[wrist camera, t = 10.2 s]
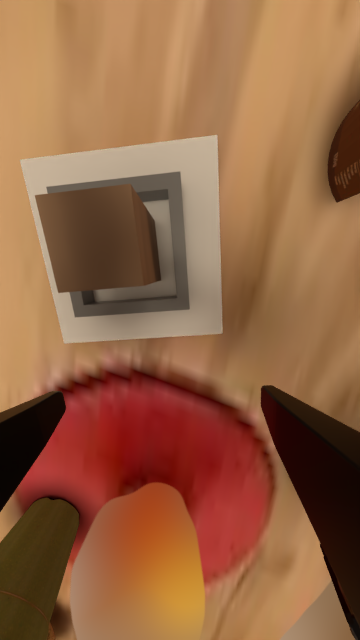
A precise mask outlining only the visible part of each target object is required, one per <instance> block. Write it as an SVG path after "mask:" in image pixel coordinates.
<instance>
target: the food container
mask: <svg viewBox="0 0 360 640" xmlns="http://www.w3.org/2000/svg"><path fill="white" fill-rule="evenodd" d="M328 179H329V185H330V188H331V191H332V194H333V196H334V198H335V200H336V202H339V201H342V200H344V199H347V198H349V197H351V196H354V195H356V194H359V193H360V100H359V102H358V103H357V104H356V105H355V106H354V107H353V108H352V109H351V111H350V112H349V113H348V115H347V116H346V117H345V119H344V120H343V121H342V123H341V125H340V127H339V128H338V130H337V132H336V135H335V137H334V139H333V142H332V145H331V149H330V153H329V159H328Z"/></svg>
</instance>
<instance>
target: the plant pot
mask: <svg viewBox="0 0 360 640" xmlns="http://www.w3.org/2000/svg"><path fill="white" fill-rule="evenodd" d="M78 526H79V514H78V512H77V510H76V509H75V508H74V507H73V506H72V505H70V504H69V503H68V502H66V501H64V500H61V499H57V500H50V499H49V498H42V499H39V500H37V501H35V502H34V503H33V504H32V505H31V506H30V507H29V509H28V510H27V511H26V512H25V513H24V515H23V516H22V517H21V518H20V520H19V521H18V522H17V523H16V524H15V526H14V527H13V528H12V529H11V530H10V532H9V533H8V534H7V535H6V536H5V538H4V539H3V540H2V541H1V543H0V640H47V636H48V632H49V623H50V620H51V616H52V613H53V610H54V606H55V603H56V599H57V596H58V593H59V590H60V586H61V583H62V580H63V576H64V573H65V569H66V566H67V563H68V559H69V556H70V553H71V549H72V546H73V543H74V540H75V536H76V533H77V530H78Z"/></svg>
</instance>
